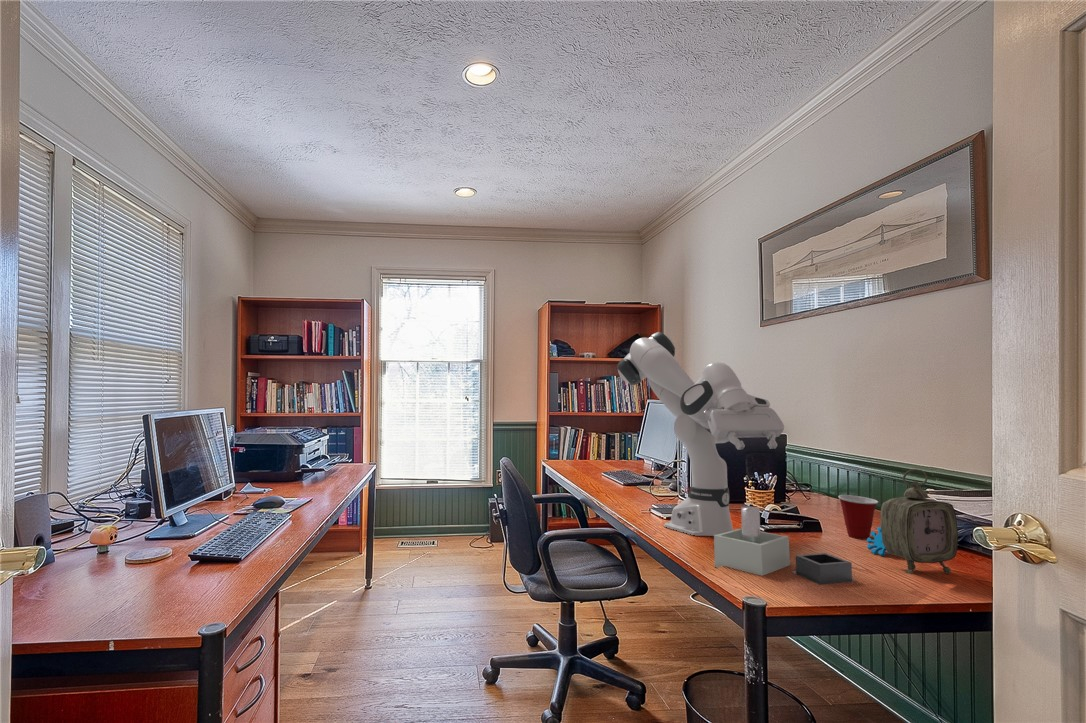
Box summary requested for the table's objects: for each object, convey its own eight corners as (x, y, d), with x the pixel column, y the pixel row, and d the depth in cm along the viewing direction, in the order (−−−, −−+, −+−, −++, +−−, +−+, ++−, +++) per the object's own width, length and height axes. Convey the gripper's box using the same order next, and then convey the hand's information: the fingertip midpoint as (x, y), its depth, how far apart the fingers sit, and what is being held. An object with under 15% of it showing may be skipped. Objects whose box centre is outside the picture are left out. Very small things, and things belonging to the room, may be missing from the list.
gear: (857, 543, 159) (881, 518, 160) (870, 557, 160) (894, 531, 161) (886, 559, 149) (912, 532, 149) (900, 574, 149) (925, 547, 150)
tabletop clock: (908, 579, 133) (903, 472, 134) (878, 568, 141) (874, 468, 143) (960, 575, 135) (954, 470, 137) (927, 564, 144) (922, 466, 146)
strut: (738, 563, 143) (736, 507, 144) (748, 560, 146) (746, 505, 147) (755, 568, 139) (753, 510, 140) (765, 564, 142) (763, 508, 143)
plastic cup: (879, 543, 166) (878, 501, 167) (838, 538, 172) (836, 498, 172) (880, 535, 175) (878, 496, 176) (841, 531, 181) (839, 493, 182)
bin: (714, 567, 143) (713, 535, 144) (743, 558, 152) (742, 527, 152) (762, 579, 133) (761, 545, 134) (789, 569, 142) (788, 536, 142)
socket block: (791, 575, 136) (790, 554, 137) (826, 572, 139) (826, 551, 139) (820, 589, 127) (819, 566, 127) (858, 585, 129) (857, 563, 129)
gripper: (706, 400, 151) (726, 440, 141) (773, 400, 156) (797, 439, 146) (697, 416, 155) (716, 456, 145) (763, 415, 160) (786, 454, 150)
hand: (757, 447), depth 146 cm, fingers open, 8 cm apart
